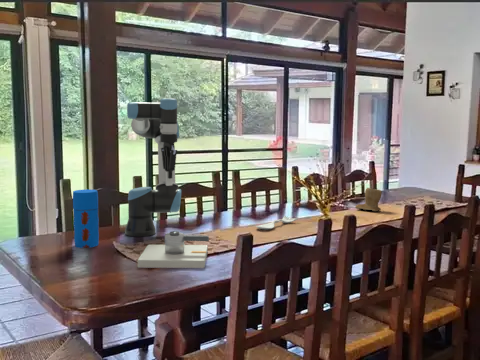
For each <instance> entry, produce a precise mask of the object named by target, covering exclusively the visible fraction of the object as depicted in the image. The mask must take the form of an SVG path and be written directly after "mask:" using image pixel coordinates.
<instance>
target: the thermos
mask: <svg viewBox="0 0 480 360" xmlns="http://www.w3.org/2000/svg"><path fill="white" fill-rule="evenodd" d="M72 213H73V214H72V215H73V219H72V220H73V238H74V239H73V240H74V247H75V248H79V249H89V248H94V247H95V248H96V247H97V246H99V242H100V228H99V227H100V223H99V222H100V221H99V220H100V219H99V218H100V217H99V192H98V190H97V189H76V190H73V191H72Z"/></svg>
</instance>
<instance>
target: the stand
mask: <svg viewBox="0 0 480 360" xmlns="http://www.w3.org/2000/svg"><path fill="white" fill-rule="evenodd" d="M208 247H209V246H208V245H207V244H184V253H181V254H167V253H165V244H147V246H146V247H145V249H144V250H143V251H142V253H141V255H140V256H139V257H138V259H137V269H140V268H141V269H142V268H145V269H146V268H147V269H148V268H149V269H151V268H152V269H153V268H154V269H156V268H157V269H158V268H159V269H170V268H171V269H173V268H174V269H205V266H206V262H207V261H206V260H207V258H208V257H207V256H208V249H209V248H208Z"/></svg>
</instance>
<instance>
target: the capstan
mask: <svg viewBox="0 0 480 360" xmlns="http://www.w3.org/2000/svg"><path fill="white" fill-rule="evenodd" d="M185 242H209V235H201V234H200V235H197V234H194V235H192V234H191V235H190V234H189V235H188V234H184V233H183V232H180V231H177V230H174V231H173V230H172V231H170V232H166V233H165V234H164V245H165V253H167V254H181V253H184V245H185Z"/></svg>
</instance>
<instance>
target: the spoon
mask: <svg viewBox="0 0 480 360" xmlns="http://www.w3.org/2000/svg"><path fill="white" fill-rule="evenodd" d="M298 219H299V217H294V218H292V217H291V218H290V217H288V216H286V215H284V216H283V217H282V219H275V220H273V221H272V222H269V223H264V224H260V225H255V228H257V229H260V230H265V231H267V230H268V231H269V230H272V229H274V228H275V223H276V224H277V223H280V222H282V223H283V224H290V223H292V222H296V221H297V220H298Z"/></svg>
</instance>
